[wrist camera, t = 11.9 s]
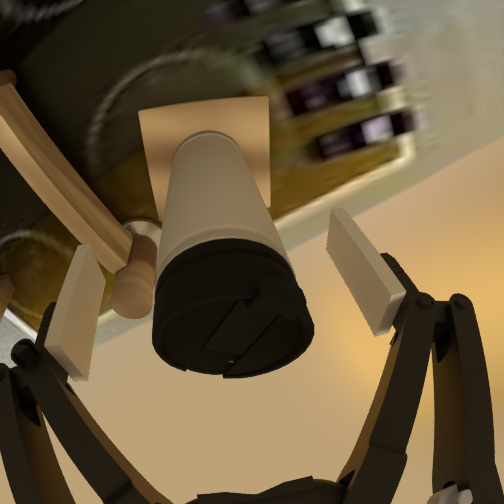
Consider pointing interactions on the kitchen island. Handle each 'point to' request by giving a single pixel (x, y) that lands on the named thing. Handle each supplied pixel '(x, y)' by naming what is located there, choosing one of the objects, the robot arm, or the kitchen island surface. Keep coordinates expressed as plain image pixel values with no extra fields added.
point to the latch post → (5, 292)
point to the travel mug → (223, 270)
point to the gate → (77, 204)
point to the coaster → (206, 119)
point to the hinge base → (144, 229)
